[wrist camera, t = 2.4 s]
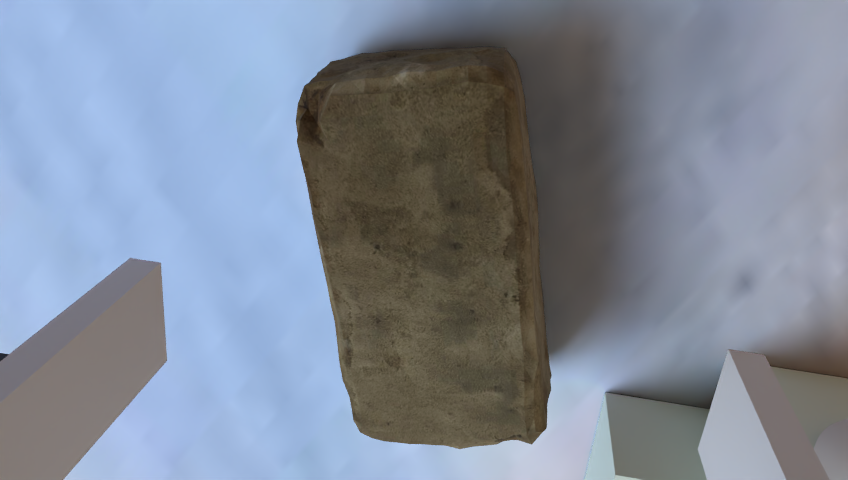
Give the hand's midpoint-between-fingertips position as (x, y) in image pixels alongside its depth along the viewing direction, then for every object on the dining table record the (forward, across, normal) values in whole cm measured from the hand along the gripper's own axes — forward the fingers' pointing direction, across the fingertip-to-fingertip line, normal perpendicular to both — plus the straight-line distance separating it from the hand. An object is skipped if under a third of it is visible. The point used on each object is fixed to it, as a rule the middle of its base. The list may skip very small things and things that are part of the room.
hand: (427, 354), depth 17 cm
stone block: (+7, 0, 0) cm, 7 cm away
